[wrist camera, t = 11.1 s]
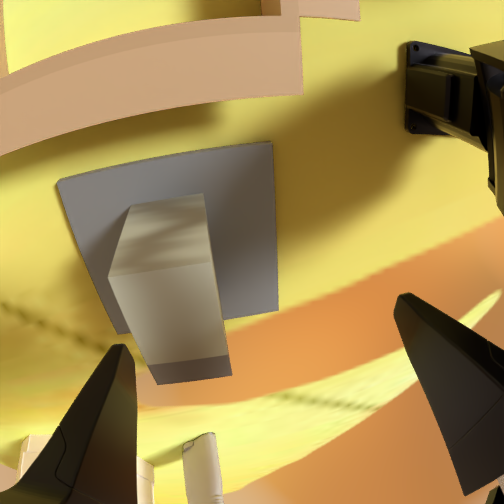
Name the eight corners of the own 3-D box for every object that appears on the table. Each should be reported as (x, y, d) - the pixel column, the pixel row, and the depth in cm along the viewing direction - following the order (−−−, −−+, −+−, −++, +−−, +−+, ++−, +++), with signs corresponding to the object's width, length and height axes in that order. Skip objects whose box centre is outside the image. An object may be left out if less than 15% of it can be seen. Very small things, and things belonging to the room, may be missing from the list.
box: (203, 193, 19) (210, 261, 13) (219, 295, 23) (232, 375, 17) (130, 205, 18) (107, 277, 12) (160, 304, 23) (157, 384, 17)
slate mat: (270, 141, 18) (272, 143, 18) (276, 305, 25) (278, 310, 25) (60, 179, 17) (56, 182, 16) (118, 329, 24) (117, 334, 24)
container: (76, 481, 47) (76, 545, 34) (-5, 433, 34) (-17, 512, 21) (177, 477, 47) (185, 553, 34) (98, 429, 34) (95, 541, 20)
